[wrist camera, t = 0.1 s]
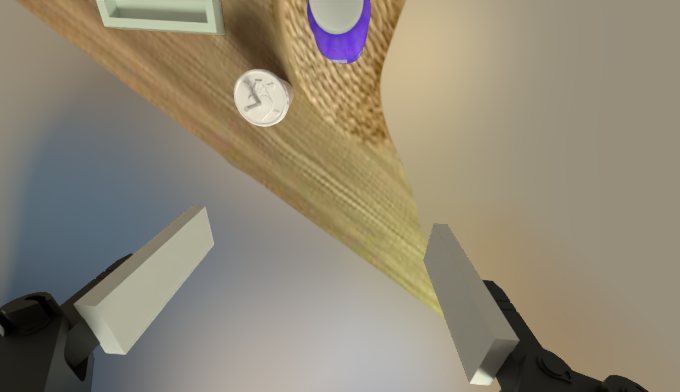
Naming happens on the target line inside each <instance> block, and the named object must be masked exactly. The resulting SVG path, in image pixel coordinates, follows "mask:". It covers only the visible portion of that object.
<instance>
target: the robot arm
mask: <svg viewBox="0 0 680 392" xmlns="http://www.w3.org/2000/svg"><path fill="white" fill-rule="evenodd" d="M213 245H214V242H213V237H212V233H211V229H210V225H209V220H208V216H207V211H206V207H203V206H191V207H190V208H189V209H188V210H187V211H185V212H184V213H183V214H182V215H180V216H179V217H178V218H177V219H176V220H174V221H173V222H172V223H171V224H170V225H168V226H167V227H166V228H165V229H163V230H162V231H161V232H160V233H159V234H157V235H156V236H155V237H154V238H153V239H152V240H150V241H149V242H148V243H147V244H145V245H144V246H143V247H142V248H141V249H140V250H138V251H137V252H136V253H135V254H129V255H127V256H125V257H123V258H121V259H119V260H117V261H116V262H115V263H114V264H112V265H111V266H110V267H108V268H107V269H106V271H105V272H102V273H101V274H100V275H98V276H97V277H96V279H93V280H92V281H91V282H90V283H88V284H87V285H86V286H85V287H84V288H82V289H81V290H80V291H78V292H77V293H76V294H75V295H73V296H72V297H71V298H70V299H69V300H67V301H66V302H65V303H64V304H62V305H61V306H59V305H58V304H57V303H56V301H55V300H54V298H53V297H52V296H51V294H49V293H47V292H37V293H32V294H28V295H25V296H22V297H20V298H17V299H15V300H13V301H11V302H9V303H7V304H5V305H3V306H2V307H1V308H0V392H91V386H92V376H93V368H94V354H93V353H92V351H93V350H94V349H95V348H96V347H97V346H98V345H99V344H100V345H101V346H102V348H103V349H104V351H105V352H106V353H112V354H124V355H126V353H127V352H128V351H129V350H130V348H131V347H132V346H133V345H134V343H135V342H136V341H137V339H138V338H139V337H140V336H141V335H142V334H143V332H144V331H145V330H146V329H147V327H148V326H149V325H150V324H151V322H152V321H153V320H154V319H155V317H156V316H157V315H158V314H159V312H160V311H161V310H162V309H163V307H164V306H165V305H166V304H167V302H168V301H169V300H170V299H171V298H172V296H173V295H174V294H175V293H176V291H177V290H178V289H179V288H180V286H181V285H182V284H183V283H184V281H185V280H186V279H187V278H188V276H189V275H190V274H191V273H192V271H193V270H194V269H195V268H196V266H197V265H198V264H199V263H200V261H201V260H202V259H203V258H204V257H205V255H206V254H207V253H208V252H209V250H210V249H211V248H212V247H213ZM423 261H424V264H425V266H426V269H427V272H428V274H429V277H430V280H431V282H432V285H433V288H434V290H435V293H436V296H437V298H438V301H439V304H440V306H441V309H442V312H443V314H444V317H445V320H446V322H447V325H448V328H449V330H450V333H451V336H452V338H453V341H454V343H455V346H456V349H457V352H458V354H459V357H460V360H461V362H462V365H463V368H464V370H465V373H466V376H467V378H468V381H469V383H470V384H480V385H491V383H492V381H493V380H494V378H495V377H496V378H497V380H498V382H499V384H500V386H501V390H500V391H499V392H648V391H647V390H646V389H644V388H643V387H641V386H640V385H639V384H637V383H635V382H633V381H631V380H629V379H628V378H625V377H622V376H618V375H610V376H608V377H607V378H606V379H605V380H604V381H603V382H602V381H599V380H596V379H594V378H591V377H588V376H585V375H583V374H580V373H577V372H575V371H573V370H571V368H570V367H569V366H568V365H567V364H566V363H565V362H564V361H563V360H562V359H561V358H559V357H558V356H556V355H555V354H554V353H552V352H550V351H547V350H545V349H543V348H542V346H541V345H540V344H539V342H538V341H537V339H536V338H535V336H534V335H533V333H532V332H531V330H530V329H529V327H528V326H527V325H526V323H525V322H524V320H523V319H522V317H521V316H520V314H519V313H518V312H516V309H515V307H514V306H513V304H512V303H510V300H509V299H508V297H507V296H506V294H505V293H504V291H503V290H502V289H501V288H500V287H498V286H497V285H496V284H495V283H494V282H493V281H488V280H482V279H481V278H480V276H479V275H478V273H477V271H476V270H475V268H474V267H473V265H472V263H471V262H470V260H469V258H468V257H467V255H466V254H465V252H464V250H463V249H462V247H461V246H460V244H459V242H458V241H457V239H456V238H455V236H454V234H453V233H452V231H451V230H450V228H449V226H448V225H447V224H434V225H433V228H432V232H431V235H430V239H429V243H428V246H427V249H426V253H425V256H424V260H423Z"/></svg>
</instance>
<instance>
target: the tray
mask: <svg viewBox="0 0 680 392" xmlns="http://www.w3.org/2000/svg"><path fill="white" fill-rule="evenodd" d="M96 2H97V5H98V8H99V11H100V14H101V17H102V20H103V23H104V26H106V27H112V28H117V29H126V30H142V31H159V32H176V33H192V34H209V35H226V33H225V26H224V19H223V11H222V4H221V0H96Z"/></svg>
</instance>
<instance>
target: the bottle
mask: <svg viewBox="0 0 680 392" xmlns="http://www.w3.org/2000/svg"><path fill="white" fill-rule="evenodd" d="M307 15H308V21H309V24H310V27H311V29H312V32H313V33H314V37H315V40H316V44H317V46H318V48H319V50H320V51H321V53H322V54H323V55H324V56H325V57H326V58H328V59H329V60H331V61H332V62H334V63H339V64H347V63H351V62H354V61H356V60H357V59H358V58H359V57H360V55H361V53H362V50H363V47H364V45H365V41H366V38H367V31H368V24H369V21H370V15H371V3H370V0H308V7H307Z"/></svg>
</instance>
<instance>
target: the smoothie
mask: <svg viewBox="0 0 680 392" xmlns="http://www.w3.org/2000/svg"><path fill="white" fill-rule="evenodd" d="M293 97H294V92H293V88H292V86H291V85H290V84H289V83H288V82H287V81H285V80H282V79H280V78H279V77H278V76H276V75H275V74H274V73H272V72H270V71H268V70H265V69H252V70H249V71H246V72H245V73H243V74H242V75H241V76H240V77H239V78H238V80H237V81H236V84H235V87H234V100H235V104H236V106H237V108H238V110H239V112H240V113H241V115H242V116H243V117H244V118H245V119H246V120H248V121H249V122H251V123H252V124H255V125H258V126H271V125H274V124H276V123H278V122H279V121H281V120H282V119H283V118H284V116H285V115H286V113H287V110H288V107H289V105H290V103H291V102H292V100H293Z"/></svg>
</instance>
